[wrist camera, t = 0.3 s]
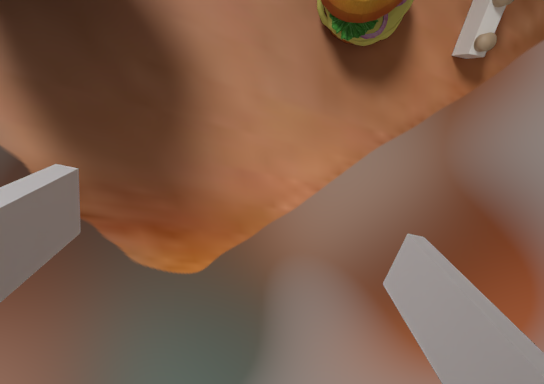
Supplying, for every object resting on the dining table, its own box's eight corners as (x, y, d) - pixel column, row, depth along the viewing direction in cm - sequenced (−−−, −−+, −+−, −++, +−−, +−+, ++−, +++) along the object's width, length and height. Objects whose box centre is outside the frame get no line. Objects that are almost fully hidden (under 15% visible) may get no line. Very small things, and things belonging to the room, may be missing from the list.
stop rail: (477, -11, 32) (506, -23, 28) (492, -7, 32) (523, -18, 28) (451, 55, 34) (474, 52, 30) (466, 58, 34) (490, 56, 31)
